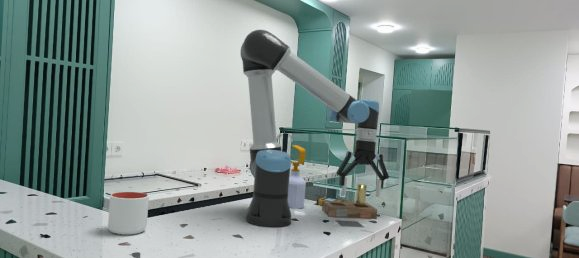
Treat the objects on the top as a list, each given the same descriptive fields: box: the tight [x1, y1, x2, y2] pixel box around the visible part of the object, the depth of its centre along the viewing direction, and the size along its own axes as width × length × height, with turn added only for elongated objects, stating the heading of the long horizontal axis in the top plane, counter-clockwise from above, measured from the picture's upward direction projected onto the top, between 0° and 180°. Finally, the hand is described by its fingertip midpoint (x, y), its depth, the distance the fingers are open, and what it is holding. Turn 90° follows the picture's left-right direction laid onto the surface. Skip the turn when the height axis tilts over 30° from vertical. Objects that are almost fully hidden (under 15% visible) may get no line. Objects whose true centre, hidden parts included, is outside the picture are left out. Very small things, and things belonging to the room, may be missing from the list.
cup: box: [107, 191, 150, 236], centre depth 114 cm, size 10×10×10 cm
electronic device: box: [316, 196, 351, 207], centre depth 171 cm, size 8×16×3 cm, turn 60°
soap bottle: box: [288, 144, 307, 210], centre depth 165 cm, size 9×9×25 cm
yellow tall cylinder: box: [355, 183, 368, 207], centre depth 157 cm, size 4×4×12 cm
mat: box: [335, 219, 365, 228], centre depth 142 cm, size 8×8×1 cm
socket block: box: [321, 201, 378, 220], centre depth 157 cm, size 12×18×4 cm
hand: (360, 195), depth 157 cm, fingers open, 13 cm apart
